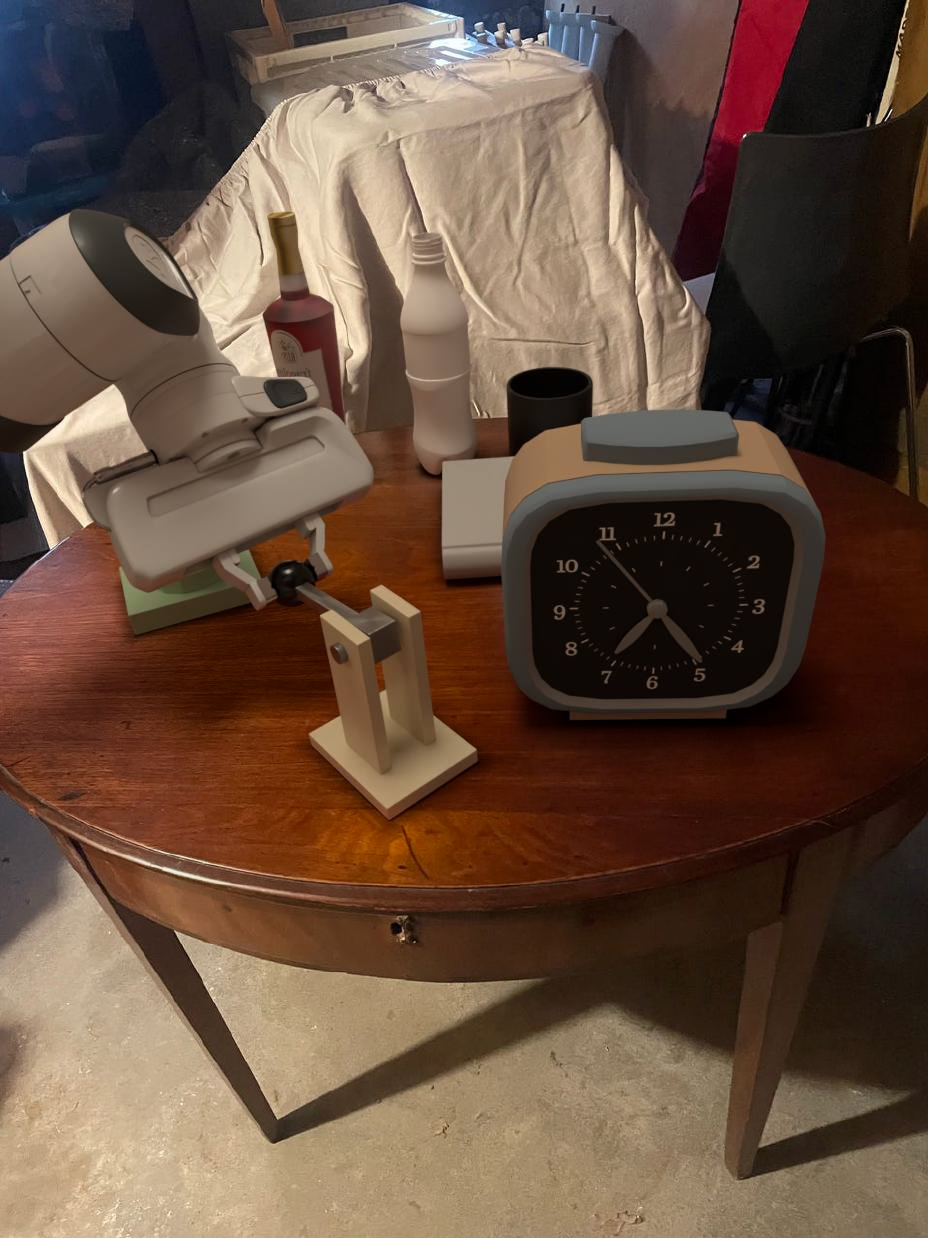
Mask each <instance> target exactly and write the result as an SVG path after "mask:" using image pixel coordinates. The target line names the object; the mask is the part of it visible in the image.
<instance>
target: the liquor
mask: <svg viewBox="0 0 928 1238" xmlns="http://www.w3.org/2000/svg"><path fill="white" fill-rule="evenodd" d="M266 217H267V222H268V228H269V233H270V237H271V239H272V242H273V245H274V248H275V251H276V262H277V273H278V283H279V295H280V297H278V298H276V299H275V300H273V301H272V302H270V303H269V305H268V306H267V307H266V308H265V310H264V311H263V312H262V319H263V323H264V327H265V331H266V335H267V340H268V343H269V344H268V345H269V348H270V352H271V356H272V360H273V365H274V368H275V371H276V375H277V376H276V377H306V378H309V379H311V380H312V381H313V382H314V384H315V386H316V387H317V389H318V391H319V395H320V397H319V400H318V403H317V405H316V407H323V408H326V409H328V410H330V411H332V412H333V413H335V414H336V415H337V416H338V417H339V418H340V419H341V420H342V421H343V422H344V424H345V425H346V426H347V419H346V411H345V410H346V409H345V401H344V393H343V384H342V382H343V381H342V371H341V361H340V360H341V359H340V349H339V341H338V333H337V326H336V324H337V323H336V317H335V316H336V315H335V306H334V304H333V303H331V302H330V301H329V300H327V299H325V298H324V297H323V296H321V295H318V294H314V293H311V291H310V288H309V284H308V280H307V276H306V272H305V267H304V263H303V260H302V256H301V253H300V249H299V229H298V223H297V217H296V213H295V212H294V211H278V212H274V213H270V214H268V215H267V216H266Z"/></svg>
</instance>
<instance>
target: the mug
mask: <svg viewBox="0 0 928 1238" xmlns="http://www.w3.org/2000/svg"><path fill="white" fill-rule="evenodd" d="M505 388H506V389H505V390H506V409H507V435H508V455H509V456H508V457H514V456H516V454H517V453H518V452H519V450H520V449H521V448H522V446H523V445H524V444H525V443H527V442H529V441H530V440H532V439H533V438H535V437H536V436H538V435H539V434H541V433H542V432H544V431H545V430H551V429H556V428H561V427H566V426H572V425H577V424H581V421H582V420H583V419H584V418H588V417H593V399H594V397H593V396H594V383H593V378H592V377H591V375H589V374H588V373H586V372H585V371H582V370H579V369H576V368H572V367H571V368H570V367H564V366H543V367H535V368H530V369H526V370H524V371H523V370H522V371H520V372H518V373H516V374H514V375H512V376H511V377H510V378H509V379H508V380H507V382H506V387H505Z"/></svg>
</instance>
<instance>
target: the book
mask: <svg viewBox="0 0 928 1238" xmlns="http://www.w3.org/2000/svg"><path fill="white" fill-rule="evenodd" d="M514 457H515V456H514ZM514 457H509V456H501V457H489V458H488V457H487V458H486V457H485V458H473V459H471V460H457V461H443V463H442V472H441V475H442V476H441V477H442V478H441V479H442V480H441V557H442V570H443V576H444V577H443V578H444V580H462V579H476V578H477V579H478V578H493V577H502V574H501V558H502V535H503V512H504V492H505V480H506V477H507V474H508V471H509V468H510V465H511V462H512V460H513V458H514Z"/></svg>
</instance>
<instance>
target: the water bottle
mask: <svg viewBox="0 0 928 1238" xmlns="http://www.w3.org/2000/svg"><path fill="white" fill-rule="evenodd" d="M411 242H412V243H411V245H412V251H413V252H412V253H411V256H412V258H411V260H410V262H411V264H412V265H413V275H412V280H411V282H410V286H409V288H408V291H407V293H406V296H405V298H404V301H403V303H402V304H403V305H402V308H401V312H400V317H399V318H400V319H399V323H400V324H399V325H400V329H401V333H402V343H403V349H404V350H403V351H404V361H405V367H406V369H405V377H406V379H407V382H408V384H409V387H410V393H411V397H412V405H413V430H412V431H413V432H412V443H413V449H414V452H415V455H416V456H417V459H418V460H419V462H420V464H421V465H422V467H423V468H424V470H426V472H427V473H429V474H431V475H434V476H439V475H441V474H442V463H443V461H457V460H471V459H475V458H474V457H475V455H476V452H477V448H478V447H477V446H478V444H477V443H478V439H477V437H478V436H477V429H476V426H475V423H474V422H475V421H474V418H473V415H472V414H473V413H472V408H471V396H470V395H471V394H470V393H471V392H470V391H471V390H470V389H471V388H470V387H471V386H470V385H471V384H470V383H471V372H472V366H473V365H472V363H471V351H470V337H469V334H470V333H469V322H470V320H469V319H470V318H469V314H468V309H467V307H466V305H465V302H464V301H463V299H462V297H461V295H460V293H459V291H458V290H457V288H456V287H455V285H454V284H453V282H452V280H451V279H450V277H449V274H448V271H447V267H446V264H445V263H446V261H447V255H445V253H446V252H445V250H444V246H443V245H444V243H443V236H442V233H439V232H421V233H418V234H414V235H413V236H412V237H411Z"/></svg>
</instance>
